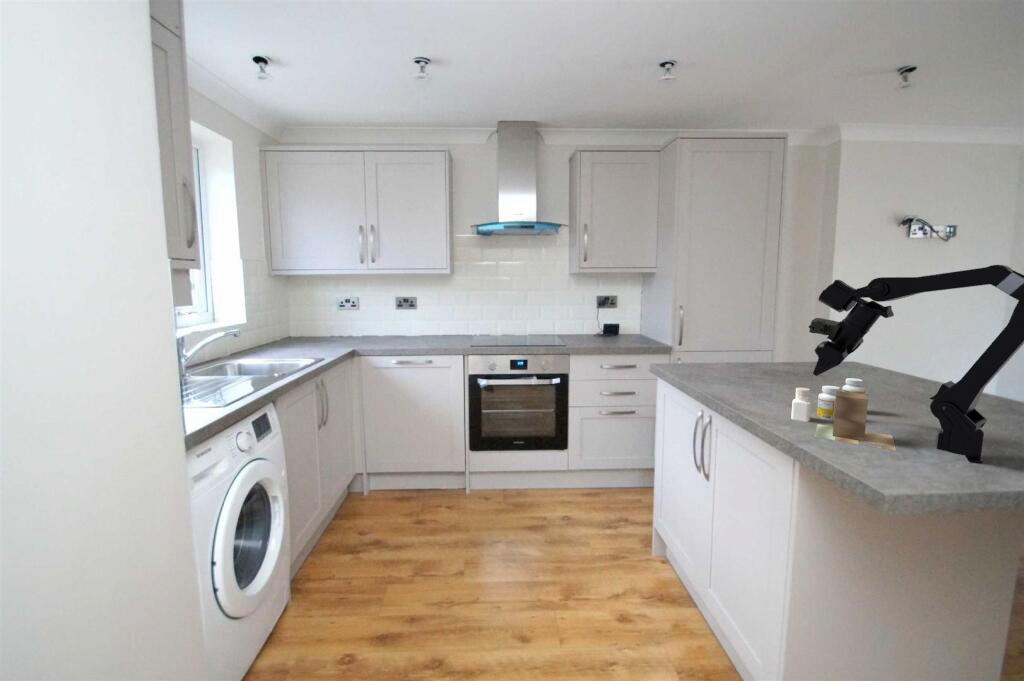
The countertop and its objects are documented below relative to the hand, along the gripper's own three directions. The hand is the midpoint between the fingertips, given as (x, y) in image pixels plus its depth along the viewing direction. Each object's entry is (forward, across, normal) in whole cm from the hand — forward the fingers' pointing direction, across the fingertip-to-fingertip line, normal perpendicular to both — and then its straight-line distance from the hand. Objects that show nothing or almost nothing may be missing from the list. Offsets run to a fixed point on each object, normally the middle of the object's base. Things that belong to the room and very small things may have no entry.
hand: (820, 369), depth 121 cm
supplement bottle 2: (+14, -17, +12) cm, 25 cm away
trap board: (+6, +13, +16) cm, 21 cm away
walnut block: (+5, +13, +14) cm, 20 cm away
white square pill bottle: (+13, +7, +5) cm, 16 cm away
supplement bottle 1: (+12, 0, +9) cm, 15 cm away
